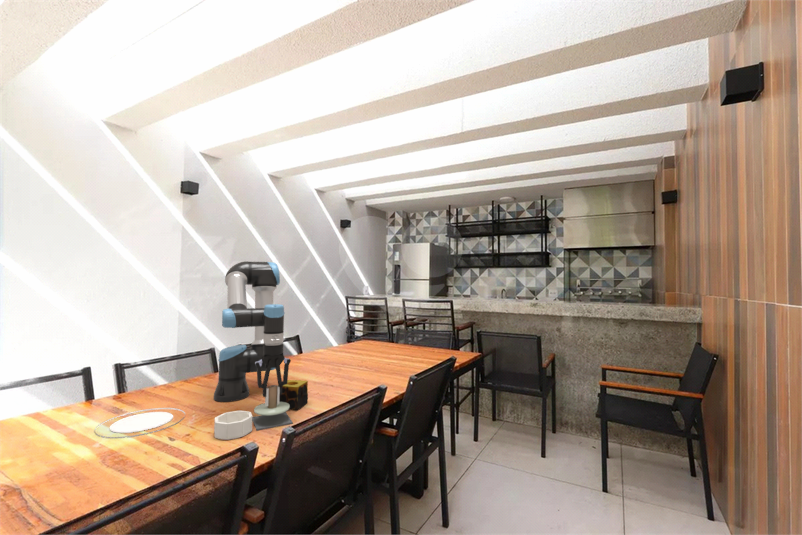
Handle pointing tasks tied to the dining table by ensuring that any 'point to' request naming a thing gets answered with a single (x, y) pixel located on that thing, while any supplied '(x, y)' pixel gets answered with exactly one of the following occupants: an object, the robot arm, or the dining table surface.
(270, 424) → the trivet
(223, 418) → the bowl
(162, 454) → the dining table surface
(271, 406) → the lid
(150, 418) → the plate
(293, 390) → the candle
